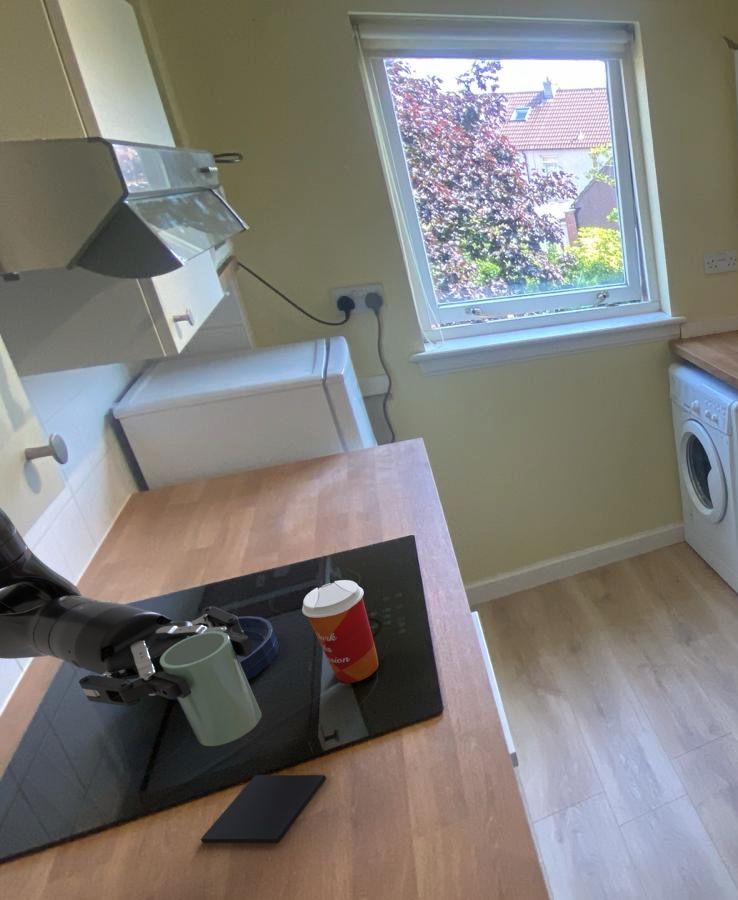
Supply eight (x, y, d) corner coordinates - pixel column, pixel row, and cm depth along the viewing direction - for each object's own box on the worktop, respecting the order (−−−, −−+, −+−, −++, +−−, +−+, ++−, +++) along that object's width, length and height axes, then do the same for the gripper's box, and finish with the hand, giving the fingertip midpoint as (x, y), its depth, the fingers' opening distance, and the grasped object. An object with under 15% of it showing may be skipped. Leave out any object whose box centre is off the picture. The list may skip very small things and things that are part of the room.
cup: (187, 752, 80) (148, 673, 75) (210, 713, 85) (175, 637, 80) (250, 738, 81) (215, 660, 77) (269, 701, 87) (237, 626, 82)
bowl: (189, 717, 102) (178, 695, 101) (140, 682, 109) (129, 661, 107) (300, 654, 114) (292, 633, 112) (249, 626, 121) (241, 606, 119)
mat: (202, 842, 84) (200, 839, 84) (256, 778, 92) (255, 774, 92) (278, 842, 84) (276, 839, 83) (326, 778, 92) (325, 774, 92)
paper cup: (323, 669, 110) (294, 592, 105) (379, 646, 115) (354, 571, 109) (335, 696, 105) (305, 617, 99) (393, 671, 110) (367, 594, 104)
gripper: (20, 652, 76) (129, 685, 71) (167, 576, 88) (269, 600, 83) (52, 707, 79) (159, 743, 74) (190, 627, 91) (289, 652, 86)
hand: (217, 667), depth 79 cm, fingers closed on cup, 6 cm apart
